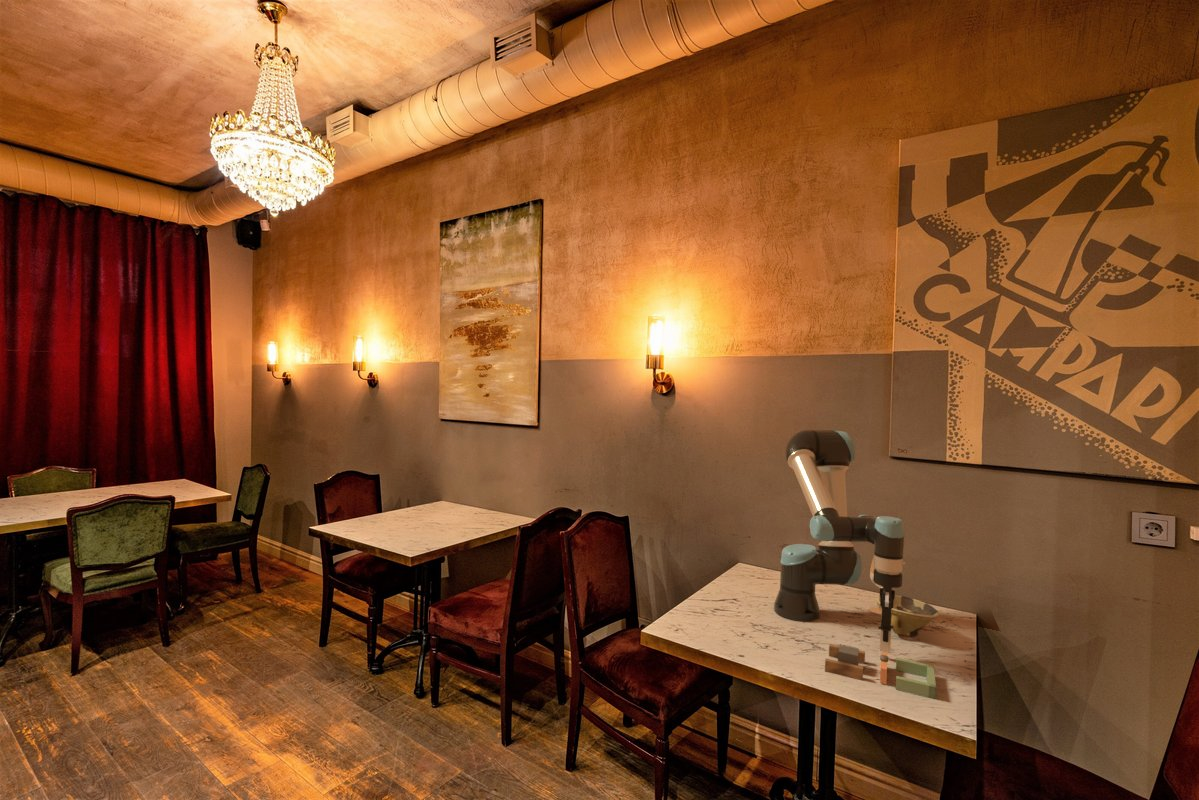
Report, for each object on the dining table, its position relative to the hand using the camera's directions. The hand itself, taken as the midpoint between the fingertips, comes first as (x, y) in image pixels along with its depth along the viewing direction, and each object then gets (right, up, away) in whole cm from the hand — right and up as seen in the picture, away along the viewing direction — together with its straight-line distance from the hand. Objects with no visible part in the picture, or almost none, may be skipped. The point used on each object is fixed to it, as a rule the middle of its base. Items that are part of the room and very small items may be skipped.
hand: (885, 651), depth 167 cm
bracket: (+1, -3, -13) cm, 14 cm away
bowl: (+17, -3, +19) cm, 26 cm away
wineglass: (+17, -2, +37) cm, 41 cm away
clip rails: (-14, -2, -5) cm, 15 cm away
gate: (-5, -2, -10) cm, 12 cm away
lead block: (-13, -2, -6) cm, 15 cm away
